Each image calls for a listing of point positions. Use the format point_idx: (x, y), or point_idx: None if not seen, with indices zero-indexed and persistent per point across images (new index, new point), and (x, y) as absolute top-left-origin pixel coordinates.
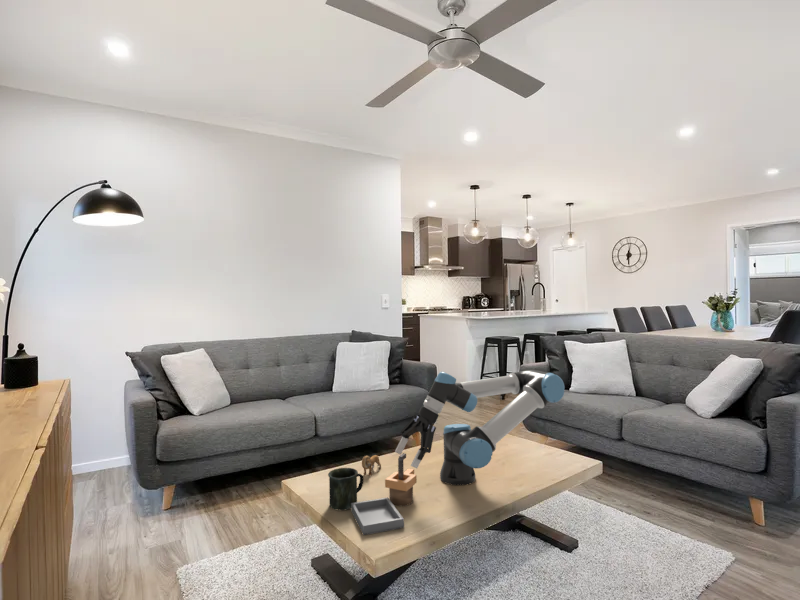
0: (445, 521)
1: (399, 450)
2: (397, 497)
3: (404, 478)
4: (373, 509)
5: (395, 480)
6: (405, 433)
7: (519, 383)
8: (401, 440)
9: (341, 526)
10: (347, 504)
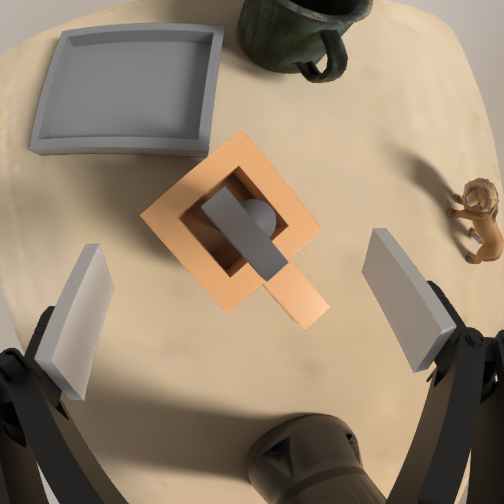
0: (30, 295)
1: (377, 264)
2: None
3: None
4: (188, 95)
5: (202, 173)
6: (462, 370)
7: None
8: (425, 301)
9: (147, 4)
10: (238, 25)
